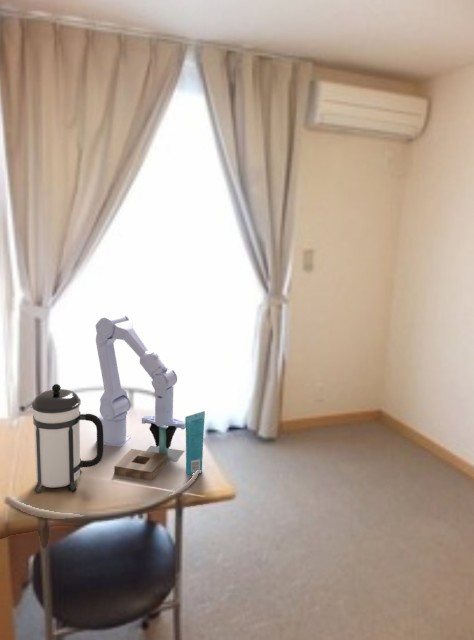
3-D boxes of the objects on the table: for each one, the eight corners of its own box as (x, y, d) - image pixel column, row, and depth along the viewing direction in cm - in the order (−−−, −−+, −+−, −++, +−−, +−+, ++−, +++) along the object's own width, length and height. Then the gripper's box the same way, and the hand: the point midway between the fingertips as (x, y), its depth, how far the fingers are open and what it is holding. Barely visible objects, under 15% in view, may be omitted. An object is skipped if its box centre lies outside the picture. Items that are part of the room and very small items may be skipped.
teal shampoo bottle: (196, 465, 160) (198, 408, 156) (207, 471, 157) (209, 412, 153) (179, 474, 154) (181, 414, 151) (190, 479, 151) (192, 419, 148)
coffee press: (50, 504, 135) (47, 398, 129) (21, 482, 145) (17, 383, 139) (105, 481, 148) (104, 384, 142) (75, 462, 158) (73, 370, 152)
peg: (157, 454, 165) (157, 429, 163) (160, 450, 168) (161, 425, 166) (165, 456, 164) (166, 430, 163) (169, 452, 167) (169, 426, 165)
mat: (141, 457, 164) (141, 456, 164) (150, 446, 171) (150, 445, 171) (176, 462, 161) (176, 461, 161) (184, 451, 169) (184, 450, 169)
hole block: (114, 475, 152) (114, 466, 151) (131, 457, 163) (131, 448, 163) (151, 481, 149) (151, 472, 149) (166, 462, 161) (166, 454, 160)
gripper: (138, 408, 161) (137, 448, 163) (181, 414, 158) (180, 454, 160) (146, 400, 167) (146, 439, 170) (188, 406, 164) (187, 445, 167)
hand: (163, 446), depth 166 cm, fingers closed on peg, 3 cm apart
